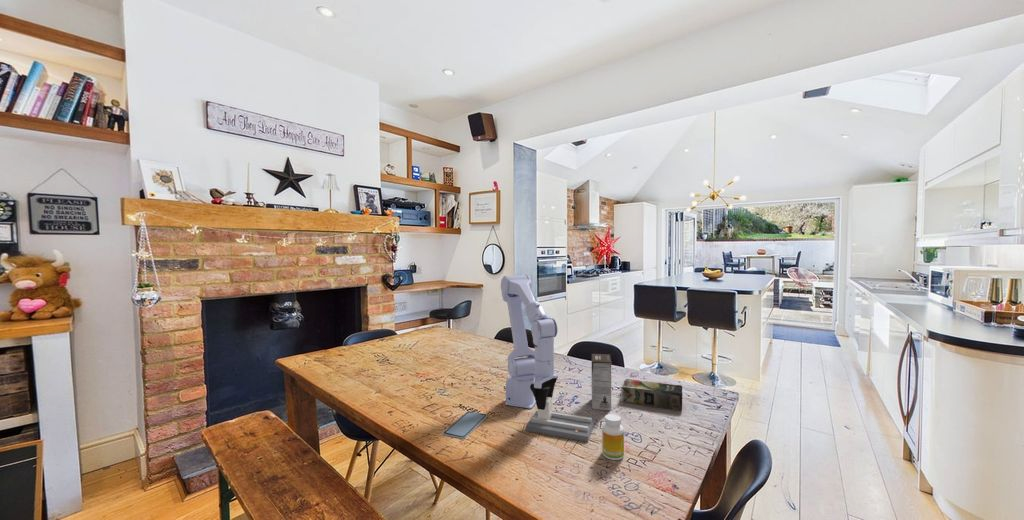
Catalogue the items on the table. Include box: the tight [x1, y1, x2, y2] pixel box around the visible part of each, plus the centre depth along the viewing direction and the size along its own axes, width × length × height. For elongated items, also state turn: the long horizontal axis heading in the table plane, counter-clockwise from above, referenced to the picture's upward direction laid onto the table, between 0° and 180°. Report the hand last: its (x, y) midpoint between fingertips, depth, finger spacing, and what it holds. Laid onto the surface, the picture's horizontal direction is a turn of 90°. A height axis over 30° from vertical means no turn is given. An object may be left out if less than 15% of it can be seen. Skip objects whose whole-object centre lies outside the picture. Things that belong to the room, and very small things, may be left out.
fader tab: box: [538, 397, 553, 420], centre depth 110 cm, size 3×4×6 cm
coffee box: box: [591, 353, 612, 411], centre depth 124 cm, size 9×6×16 cm
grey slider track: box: [525, 409, 596, 443], centre depth 109 cm, size 18×12×2 cm, turn 69°
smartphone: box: [442, 410, 488, 440], centre depth 110 cm, size 7×1×15 cm
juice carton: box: [620, 378, 683, 412], centre depth 126 cm, size 20×10×6 cm, turn 66°
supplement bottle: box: [601, 413, 625, 461], centre depth 93 cm, size 5×5×10 cm
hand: (544, 403), depth 110 cm, fingers open, 7 cm apart
